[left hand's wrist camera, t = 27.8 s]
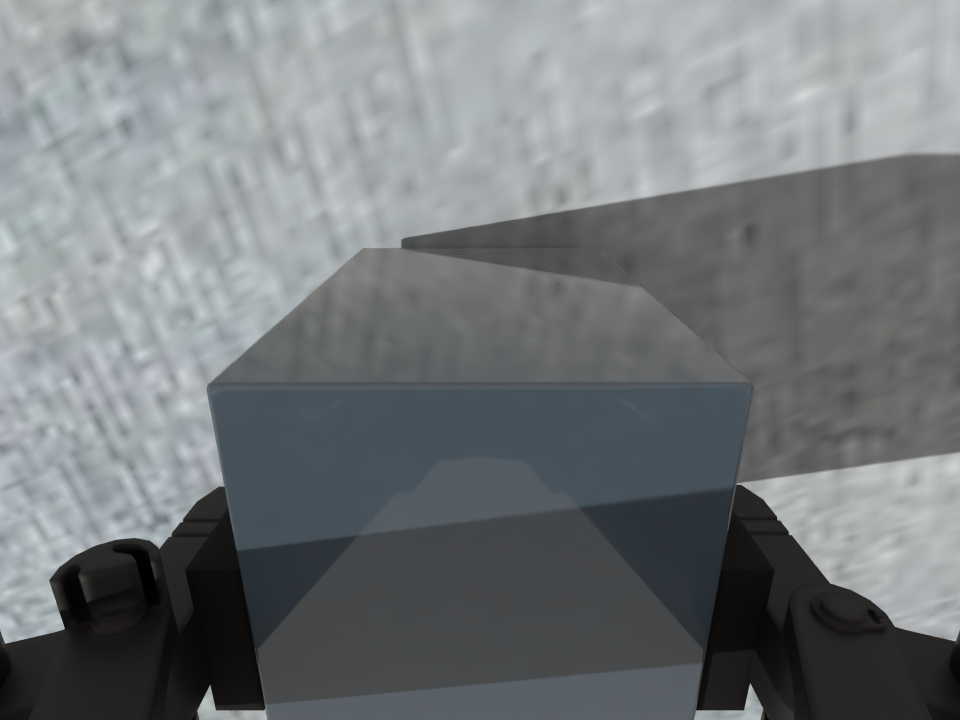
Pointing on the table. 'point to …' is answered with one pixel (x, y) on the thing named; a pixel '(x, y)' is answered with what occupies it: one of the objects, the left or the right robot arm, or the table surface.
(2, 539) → the table surface
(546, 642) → the grey rectangular block
